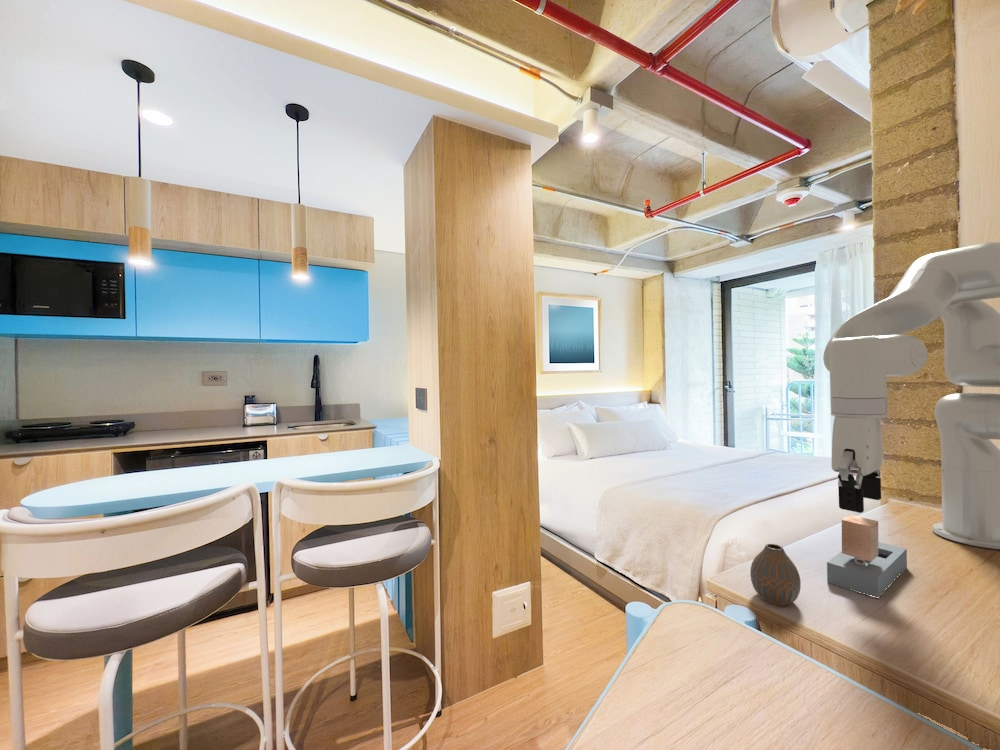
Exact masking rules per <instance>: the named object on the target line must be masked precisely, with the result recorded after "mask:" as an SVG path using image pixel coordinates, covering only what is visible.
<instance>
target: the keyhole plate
mask: <svg viewBox="0 0 1000 750" xmlns="http://www.w3.org/2000/svg"><path fill="white" fill-rule="evenodd" d="M907 550H908V549H907V548H905V547H901V546H897V545H893V544H889V543H885V542H881V541H878V556H877V557H876V558H875V559H874V560H873V561H872V562H870V561H867V560H865V566H864V565H861V564H857V563H855V558H856V557H853V556H849V555H846V554H842V550H841V551H840V552H838V553H837V554H836V555H835V556H833V557H832V558H830V559H829V560H828V561H826V576H827V577H826V582H829V583H828V584H830V583H832V584H831V585H833V584H835V585H834V586H836V585H838V586H837V587H839V586H841V587H840V588H842V587H844V588H843V589H845V588H847V589H846V590H848V589H852V590H855V591H858V592H861V593H865V594H868V595H872V596H875V597H879V596H880V595H881V594H882V593H883V592H884V591H885V589H886V588H888V586H889V585H890V584H891V583H892V582H893V581H894V579H896V578H897V576H899V574H901V573H902V572H903V571H904V572H905V570H907V568H908V560H907V559H908V558H907V557H908V553H907V552H908V551H907ZM904 572H903V573H904ZM903 573H902V574H903ZM902 574H901V575H902ZM899 577H900V576H899ZM897 579H898V578H897ZM897 579H896V580H897ZM894 582H895V581H894ZM894 582H893V583H894ZM888 589H889V588H888ZM885 592H886V591H885ZM885 592H884V593H885ZM884 593H883V594H884ZM883 594H882V595H883Z"/></svg>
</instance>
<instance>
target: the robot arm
mask: <svg viewBox="0 0 1000 750" xmlns="http://www.w3.org/2000/svg"><path fill="white" fill-rule="evenodd" d="M997 298H998V299H999V298H1000V242H999V241H998V242H996V241H991V242H983V243H982V242H981V243H978V244H972V245H967V246H962V247H957V248H953V249H948V250H941V251H937V252H933V253H929V254H926V255H923V256H921V257H919V258H917V259H916V260H915V261H913V262H912V263H911V264H910V265H909V267H908V268H907V269H906V270H905V272H904V274H903V275H902V277H901V278H900V280H899V281H898V282H897V284H896V285H895V287H894V288H893V289H892V291H891V293H890V294H889V295H888V297H887V298H885V299H882V300H881V301H879V302H876V303H874V304H872V305H870V306H869V307H867V308H865V309H863V310H862V311H860V312H858V313H856V314H854V315H853V316H851V317H849V318H848V319H846V320H844V321H843V322H842V323H841V324H840V325H839V326H838V328H836V330H835V332H834V333H833V334H832V336H831V337H830V339H829V340H828V341H827V344H826V346H825V348H824V351H823V356H822V360H823V364H824V367H825V368H826V370H827V371H828V372H829V389H830V390H829V391H830V392H829V393H830V397H829V398H830V416H833V418H834V419H833V426H832V435H831V436H832V437H831V470H833V472H836V473H838V474H837V478H838V481H837V486H838V507H839V509H841V510H845V511H849V512H854V513H859V514H861V513H862V514H863V513H864V510H865V507H864V499H870V500H875V501H880V500H882V478H881V470H880V468H882V464H883V436H882V435H883V433H882V425H881V419H883V418H887V417H888V393H887V391H888V389H887V388H888V387H887V386H888V385H887V384H888V383H887V378H889V377H890V378H893V377H894V378H895V377H896V378H899V377H908V376H911V375H914V374H917V373H918V372H919V371H921V370H922V369H923V368H924V367H925V366H926V363H927V361H928V357H929V356H928V355H929V354H928V349H927V347H926V344H925V343H923V341H922V340H921V339H919V338H917V337H915V336H913V335H909V334H905V333H908V332H912V331H914V330H918V329H921V328H924V327H926V326H929V325H931V324H934V322H937V320H939V319H941V321H942V324H943V330H944V373H945V377H946V379H947V380H948V381H949V382H950V383H951V384H953V385H955V386H962V387H971V388H972V387H973V388H1000V312H999V311H997V310H996V309H995V308H994V307H993V306H991V305H990V304H988V303H987V302H985V301H983V300H991V299H997ZM934 417H935V418H934V419H935V421H936V425H937V429H938V434H939V440H940V449H941V451H940V453H941V457H940V459H941V460H940V461H941V517H942V518H941V519H942V521H941V522H937V523H934V524H932V529H931V530H932V531H933V533H934V534H936V535H938V536H940V537H942V538H945V539H947V540H950V541H954V542H957V543H960V544H965V545H969V546H972V547H979V548H984V549H992V550H1000V448H999V447H998V446H997V445H995V444H994V442H993V441H992V440H1000V393H984V392H983V393H982V392H959V393H951V394H947V395H945V396H943V397H940V398H939V399H938V400H937V402H936V403H935V406H934Z"/></svg>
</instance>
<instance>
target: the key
mask: <svg viewBox="0 0 1000 750" xmlns="http://www.w3.org/2000/svg"><path fill="white" fill-rule="evenodd" d="M878 542H879V521H878V520H876V519H875V520H874V519H870V518H865V517H861V516H857V515H851V514H848V515H847V516H845V517H844V518H842V519H841V551H842V554H846V555H849V556H853V557H856V558H855V563H857V564H861V565H864V566H865V560H867V561H870V562H872V561H873V560H874V559H875V558H876V557H877V556H878Z"/></svg>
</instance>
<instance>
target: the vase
mask: <svg viewBox="0 0 1000 750" xmlns="http://www.w3.org/2000/svg"><path fill="white" fill-rule="evenodd" d="M749 573H750V580H751V584H752V587H753V589H754V591H755V592H756V594H757V595H759V597H760V598H761V599H762V600H763V601H765V602H766V603H768V604H772V605H773V606H774V605H775V606H780V607H781V606H782V607H784V606H785V607H786V606H789V605H790V604H793V603H794V602H795V601H796V600H797V599H798V597H799V595H800V593H801V587H802V586H801V577H800V573H799V571H798V569H797V566H796V565H795V563H794V562H793V561H792V559H791V558H790V557H789V556H788V554H787V553H786V551H785V549H784V547H783V546H782V545H779V544H776V543H767V544H765V546H764V548H763V549H762V550H761V551H760V552H759V553H758V554H756V555H755V557H754V558H753V560H752V562H751V566H750V572H749Z"/></svg>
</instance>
